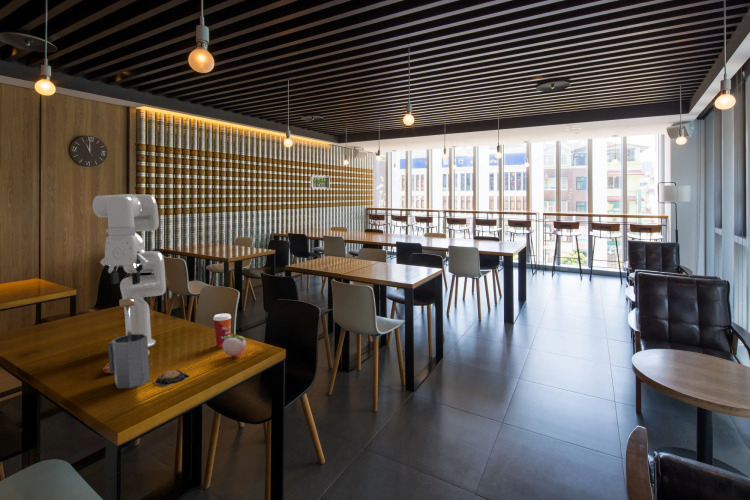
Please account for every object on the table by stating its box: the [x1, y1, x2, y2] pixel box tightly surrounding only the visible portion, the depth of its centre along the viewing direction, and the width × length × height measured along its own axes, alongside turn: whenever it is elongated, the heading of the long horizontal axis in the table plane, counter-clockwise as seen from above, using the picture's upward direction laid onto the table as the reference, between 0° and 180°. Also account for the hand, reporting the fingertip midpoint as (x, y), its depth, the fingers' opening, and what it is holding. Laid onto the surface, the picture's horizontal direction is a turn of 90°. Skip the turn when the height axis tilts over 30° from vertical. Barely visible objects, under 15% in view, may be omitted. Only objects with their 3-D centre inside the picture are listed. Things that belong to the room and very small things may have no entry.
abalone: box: [152, 369, 190, 388], centre depth 140 cm, size 11×8×4 cm
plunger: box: [118, 298, 135, 342], centre depth 136 cm, size 8×8×18 cm
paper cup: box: [212, 313, 232, 349], centre depth 174 cm, size 8×8×14 cm
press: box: [107, 334, 151, 389], centre depth 137 cm, size 12×10×16 cm
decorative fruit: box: [222, 333, 247, 358], centre depth 160 cm, size 9×8×10 cm
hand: (125, 283), depth 134 cm, fingers open, 6 cm apart
